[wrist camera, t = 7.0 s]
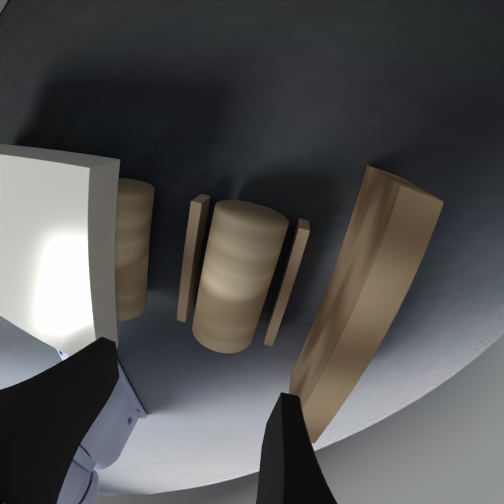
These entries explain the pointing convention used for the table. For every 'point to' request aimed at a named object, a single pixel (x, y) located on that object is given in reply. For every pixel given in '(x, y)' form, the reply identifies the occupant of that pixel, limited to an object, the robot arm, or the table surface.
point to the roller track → (137, 253)
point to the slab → (58, 245)
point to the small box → (2, 4)
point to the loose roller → (237, 273)
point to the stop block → (363, 292)
